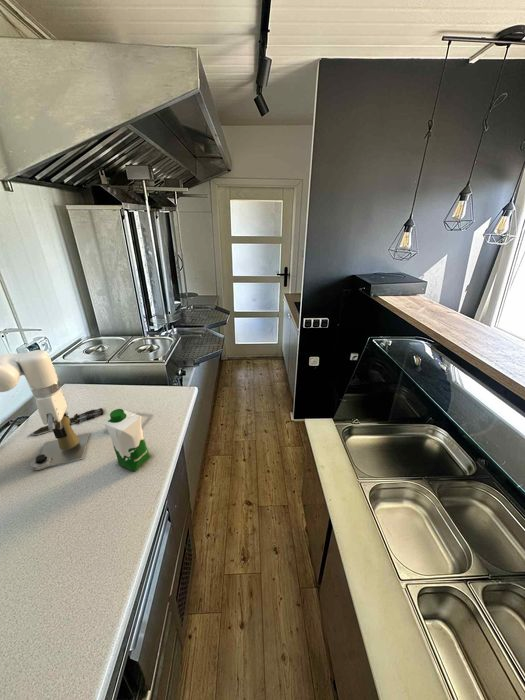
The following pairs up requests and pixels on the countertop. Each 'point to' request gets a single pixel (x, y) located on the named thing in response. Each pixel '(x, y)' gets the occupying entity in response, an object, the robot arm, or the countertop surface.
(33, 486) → the countertop surface
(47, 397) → the robot arm
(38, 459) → the power button
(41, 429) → the knife
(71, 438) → the cork
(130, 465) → the milk carton
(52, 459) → the scale
